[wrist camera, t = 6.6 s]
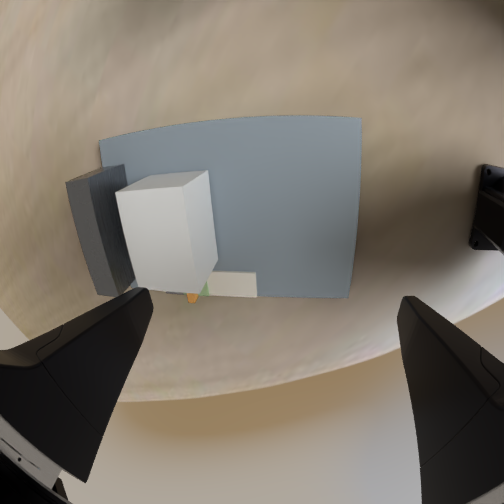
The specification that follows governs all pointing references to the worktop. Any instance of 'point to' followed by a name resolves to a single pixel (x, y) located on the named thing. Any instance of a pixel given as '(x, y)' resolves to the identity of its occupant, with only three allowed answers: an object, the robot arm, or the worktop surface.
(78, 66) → the worktop surface
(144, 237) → the block
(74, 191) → the dark grey upright slab
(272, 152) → the board
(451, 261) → the worktop surface
